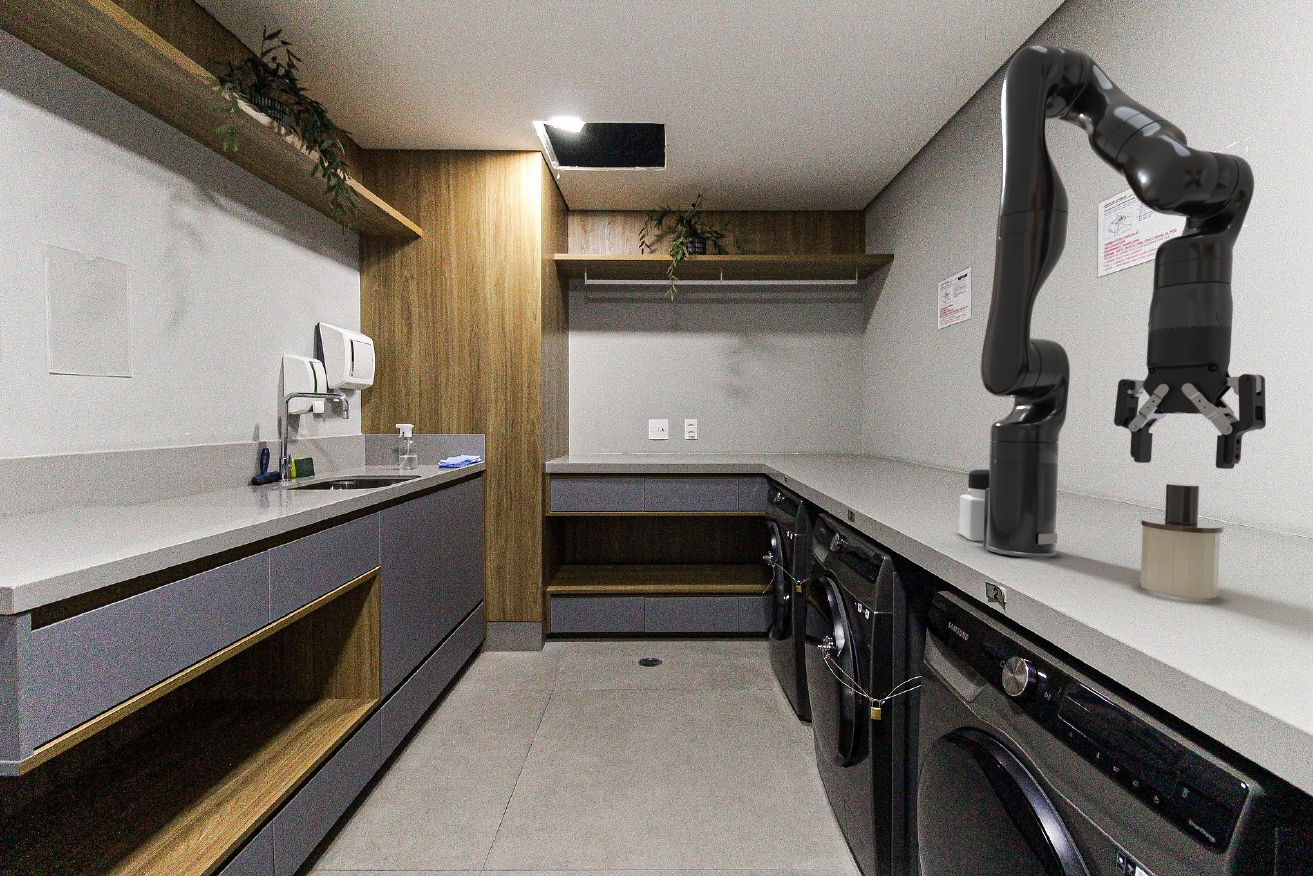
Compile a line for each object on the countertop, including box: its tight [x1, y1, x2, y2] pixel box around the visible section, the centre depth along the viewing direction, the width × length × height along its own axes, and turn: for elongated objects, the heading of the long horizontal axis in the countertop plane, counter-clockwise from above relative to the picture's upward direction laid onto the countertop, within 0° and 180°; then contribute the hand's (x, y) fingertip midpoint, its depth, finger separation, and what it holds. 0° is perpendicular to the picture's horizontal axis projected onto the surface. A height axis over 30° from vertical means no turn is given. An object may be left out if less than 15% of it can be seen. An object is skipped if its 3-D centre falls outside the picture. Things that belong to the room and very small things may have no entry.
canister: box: [1139, 525, 1221, 600], centre depth 75 cm, size 7×7×8 cm
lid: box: [1139, 483, 1225, 534], centre depth 75 cm, size 8×8×6 cm
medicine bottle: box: [958, 468, 989, 542], centre depth 111 cm, size 7×7×12 cm
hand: (1181, 465), depth 75 cm, fingers open, 8 cm apart
